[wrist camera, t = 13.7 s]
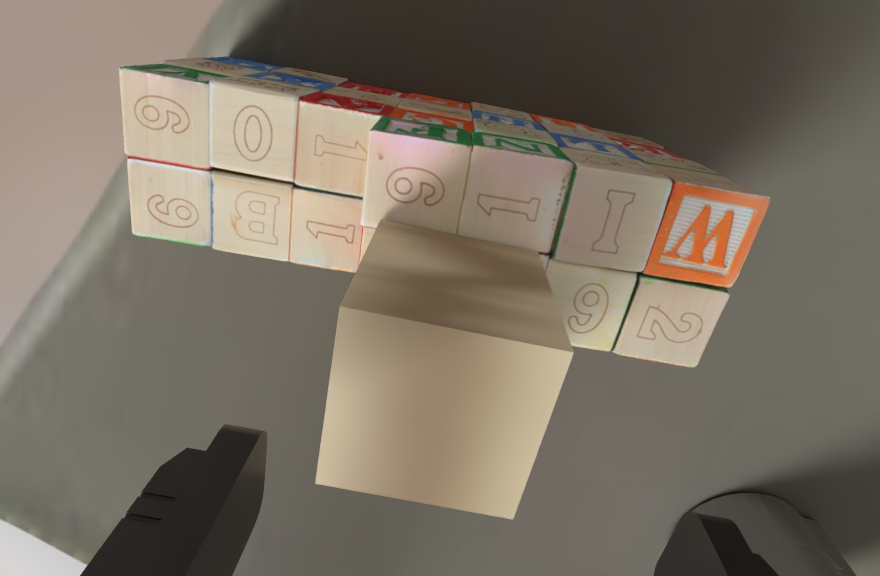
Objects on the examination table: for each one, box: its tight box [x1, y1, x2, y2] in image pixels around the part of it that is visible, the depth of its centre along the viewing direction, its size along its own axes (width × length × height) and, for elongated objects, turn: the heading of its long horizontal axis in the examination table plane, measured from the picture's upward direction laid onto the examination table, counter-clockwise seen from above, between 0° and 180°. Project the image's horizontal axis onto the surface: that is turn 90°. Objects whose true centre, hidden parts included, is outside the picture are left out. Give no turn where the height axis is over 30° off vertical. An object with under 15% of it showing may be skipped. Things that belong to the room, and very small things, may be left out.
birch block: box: [315, 219, 574, 519], centre depth 15 cm, size 5×5×6 cm
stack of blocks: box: [119, 57, 770, 367], centre depth 22 cm, size 21×6×12 cm, turn 80°
